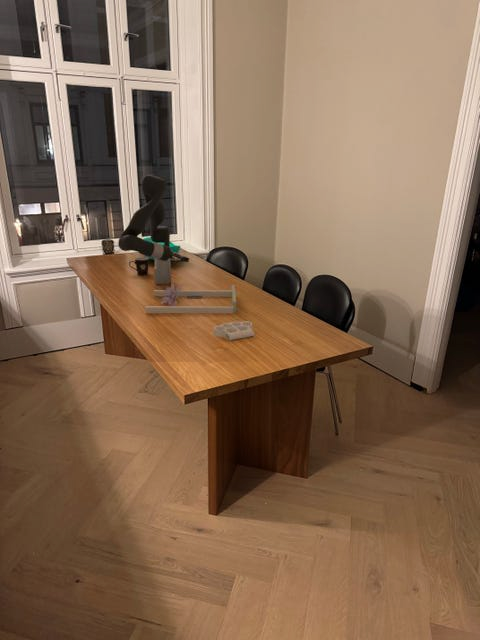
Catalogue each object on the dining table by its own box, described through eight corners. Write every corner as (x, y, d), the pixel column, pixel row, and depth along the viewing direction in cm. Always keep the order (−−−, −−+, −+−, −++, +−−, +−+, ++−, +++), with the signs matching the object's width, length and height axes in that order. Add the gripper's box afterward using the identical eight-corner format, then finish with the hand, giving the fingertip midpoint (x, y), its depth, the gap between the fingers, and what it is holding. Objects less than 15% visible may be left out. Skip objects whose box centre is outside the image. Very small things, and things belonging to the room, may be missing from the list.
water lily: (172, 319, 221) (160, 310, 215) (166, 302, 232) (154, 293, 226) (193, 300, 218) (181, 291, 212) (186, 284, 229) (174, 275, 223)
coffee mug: (151, 272, 280) (150, 257, 276) (147, 276, 272) (146, 260, 268) (133, 271, 281) (132, 256, 277) (129, 275, 273) (128, 259, 269)
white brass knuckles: (222, 343, 178) (209, 331, 190) (261, 336, 186) (245, 325, 198) (222, 336, 177) (208, 324, 189) (261, 329, 184) (245, 318, 197)
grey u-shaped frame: (146, 313, 209) (145, 301, 207) (154, 295, 235) (153, 284, 233) (236, 313, 211) (236, 301, 209) (234, 295, 237) (234, 285, 235)
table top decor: (133, 256, 323) (132, 238, 318) (169, 252, 335) (168, 235, 331) (150, 268, 291) (149, 248, 286) (188, 264, 303) (188, 245, 298)
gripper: (167, 248, 207) (196, 256, 218) (155, 240, 216) (184, 249, 228) (162, 262, 208) (191, 270, 220) (151, 254, 218) (179, 262, 229)
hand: (187, 259), depth 224 cm, fingers closed
